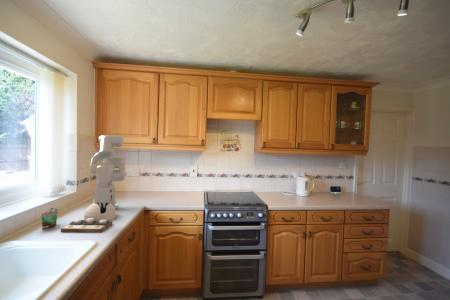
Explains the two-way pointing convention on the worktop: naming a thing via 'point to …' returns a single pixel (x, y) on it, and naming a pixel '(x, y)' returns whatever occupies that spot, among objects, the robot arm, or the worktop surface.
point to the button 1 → (77, 221)
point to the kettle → (95, 213)
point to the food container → (49, 218)
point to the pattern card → (83, 227)
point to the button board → (88, 224)
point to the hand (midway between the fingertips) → (103, 212)
